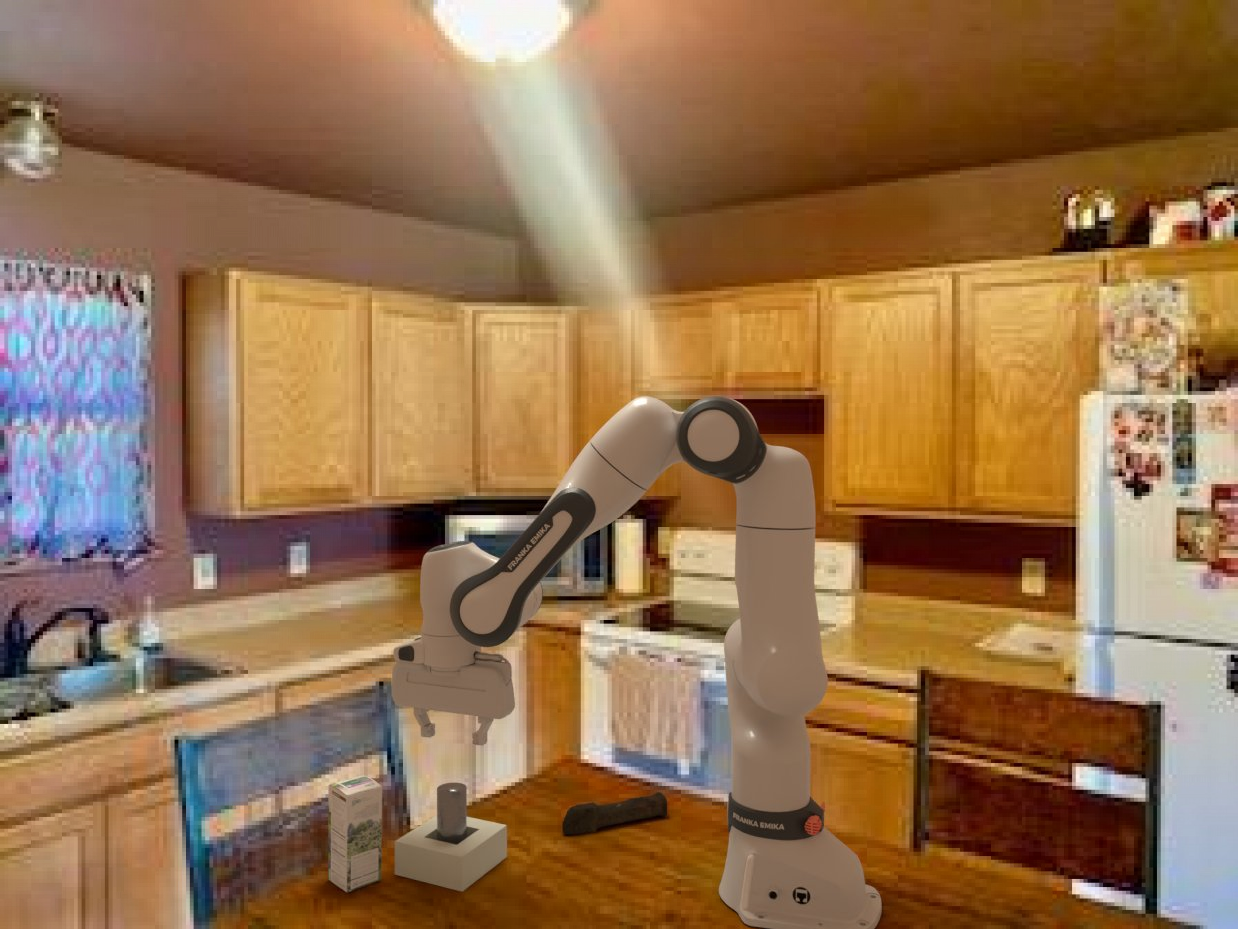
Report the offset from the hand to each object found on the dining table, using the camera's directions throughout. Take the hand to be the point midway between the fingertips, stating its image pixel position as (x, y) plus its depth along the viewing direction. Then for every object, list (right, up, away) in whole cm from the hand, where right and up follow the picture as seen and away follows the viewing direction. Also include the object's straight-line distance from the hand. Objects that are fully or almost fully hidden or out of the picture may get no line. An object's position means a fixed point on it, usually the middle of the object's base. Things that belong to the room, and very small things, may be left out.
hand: (453, 740), depth 139 cm
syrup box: (-14, -20, -4) cm, 24 cm away
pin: (0, -19, 0) cm, 19 cm away
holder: (0, -19, +1) cm, 19 cm away
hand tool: (+24, -19, +15) cm, 35 cm away
